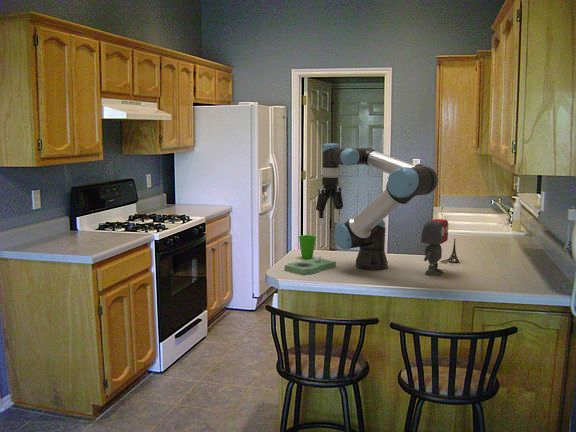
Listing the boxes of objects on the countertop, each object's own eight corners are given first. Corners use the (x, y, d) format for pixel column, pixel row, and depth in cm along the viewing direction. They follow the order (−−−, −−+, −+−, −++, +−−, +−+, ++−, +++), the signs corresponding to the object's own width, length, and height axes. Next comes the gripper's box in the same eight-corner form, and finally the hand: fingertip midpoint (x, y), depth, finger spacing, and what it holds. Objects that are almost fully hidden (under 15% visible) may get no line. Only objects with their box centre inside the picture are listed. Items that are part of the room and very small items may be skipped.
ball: (322, 261, 265) (322, 255, 265) (318, 262, 263) (318, 256, 262) (317, 260, 267) (317, 254, 267) (312, 261, 265) (313, 255, 265)
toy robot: (435, 279, 244) (439, 211, 239) (415, 276, 248) (418, 209, 244) (450, 269, 262) (453, 205, 257) (431, 267, 267) (433, 203, 262)
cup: (314, 260, 278) (315, 238, 277) (296, 259, 280) (296, 237, 278) (317, 256, 287) (317, 235, 285) (299, 255, 289) (300, 234, 287)
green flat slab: (315, 262, 275) (315, 257, 274) (337, 267, 265) (337, 262, 264) (282, 270, 259) (283, 264, 259) (305, 275, 249) (305, 270, 249)
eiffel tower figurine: (451, 258, 287) (452, 233, 285) (469, 262, 279) (471, 235, 277) (435, 263, 276) (436, 236, 274) (454, 267, 269) (456, 239, 267)
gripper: (339, 175, 275) (338, 220, 279) (308, 177, 260) (307, 225, 263) (351, 175, 270) (350, 222, 273) (320, 178, 254) (319, 227, 258)
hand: (329, 223), depth 268 cm, fingers open, 10 cm apart
